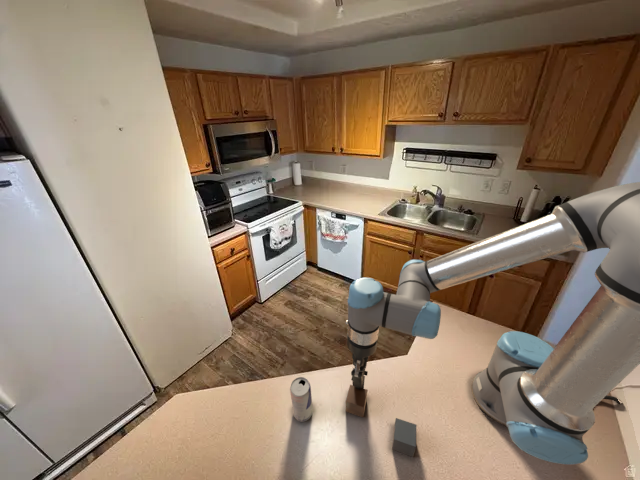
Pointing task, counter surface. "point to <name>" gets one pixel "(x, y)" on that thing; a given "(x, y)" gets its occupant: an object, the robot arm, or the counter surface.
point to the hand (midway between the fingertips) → (358, 390)
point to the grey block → (404, 437)
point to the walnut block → (356, 401)
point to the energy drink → (301, 399)
